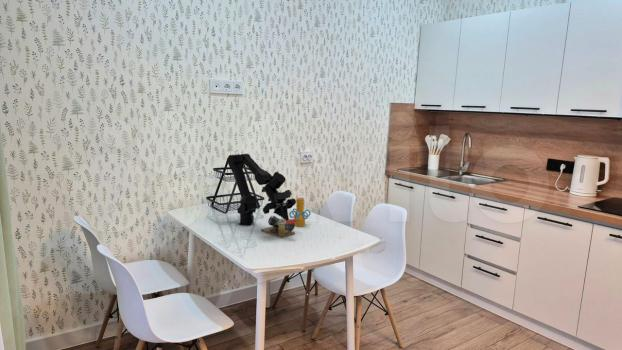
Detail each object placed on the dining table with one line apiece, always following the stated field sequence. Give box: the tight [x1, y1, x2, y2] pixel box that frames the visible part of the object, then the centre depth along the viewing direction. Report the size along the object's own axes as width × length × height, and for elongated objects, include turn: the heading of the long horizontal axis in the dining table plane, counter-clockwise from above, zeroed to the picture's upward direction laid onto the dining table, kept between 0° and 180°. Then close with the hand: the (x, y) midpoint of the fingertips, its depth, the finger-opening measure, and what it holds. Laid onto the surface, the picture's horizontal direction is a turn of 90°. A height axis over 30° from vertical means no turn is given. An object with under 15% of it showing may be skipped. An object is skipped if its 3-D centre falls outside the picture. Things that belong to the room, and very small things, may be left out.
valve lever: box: [277, 218, 296, 226], centre depth 214 cm, size 2×2×12 cm
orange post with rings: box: [288, 197, 311, 228], centre depth 235 cm, size 12×10×15 cm
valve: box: [260, 215, 296, 239], centre depth 221 cm, size 16×9×7 cm, turn 48°
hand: (287, 219), depth 213 cm, fingers closed, pressing on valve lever
